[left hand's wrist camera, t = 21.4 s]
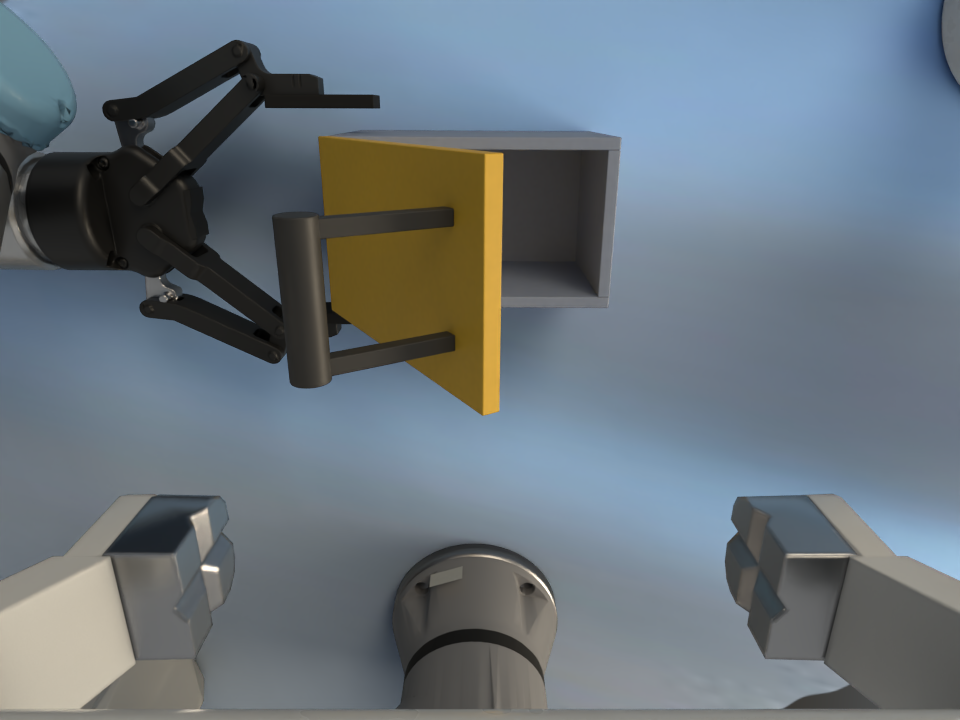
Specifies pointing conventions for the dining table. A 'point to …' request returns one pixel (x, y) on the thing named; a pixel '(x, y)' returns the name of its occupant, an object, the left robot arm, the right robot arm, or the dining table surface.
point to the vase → (154, 687)
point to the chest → (545, 210)
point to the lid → (399, 265)
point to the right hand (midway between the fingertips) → (382, 213)
